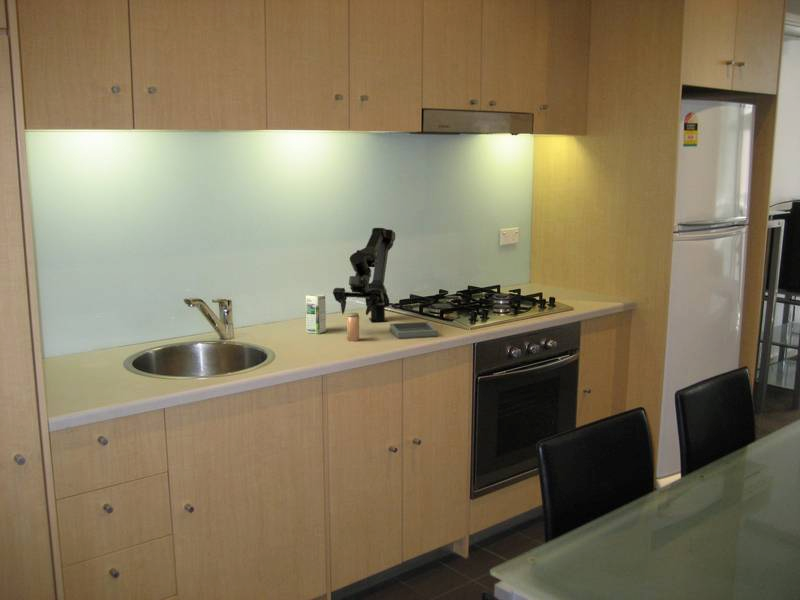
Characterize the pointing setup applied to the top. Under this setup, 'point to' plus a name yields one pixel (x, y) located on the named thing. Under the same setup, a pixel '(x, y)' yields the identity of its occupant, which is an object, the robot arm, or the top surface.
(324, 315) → the syrup box
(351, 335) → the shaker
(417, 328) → the tray
